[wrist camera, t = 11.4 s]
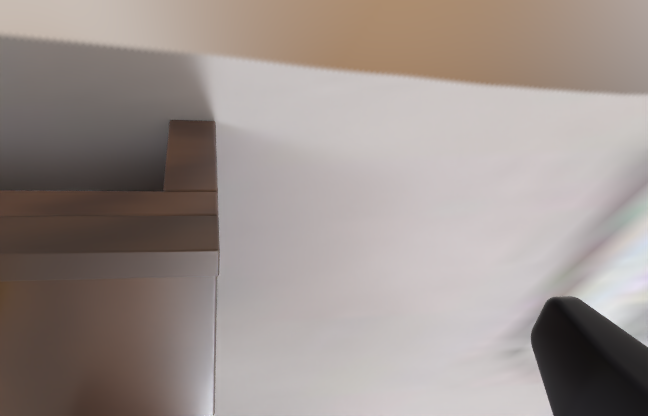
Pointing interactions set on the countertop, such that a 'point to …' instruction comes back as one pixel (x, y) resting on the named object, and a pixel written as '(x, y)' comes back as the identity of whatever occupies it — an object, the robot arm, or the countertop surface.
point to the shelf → (114, 293)
